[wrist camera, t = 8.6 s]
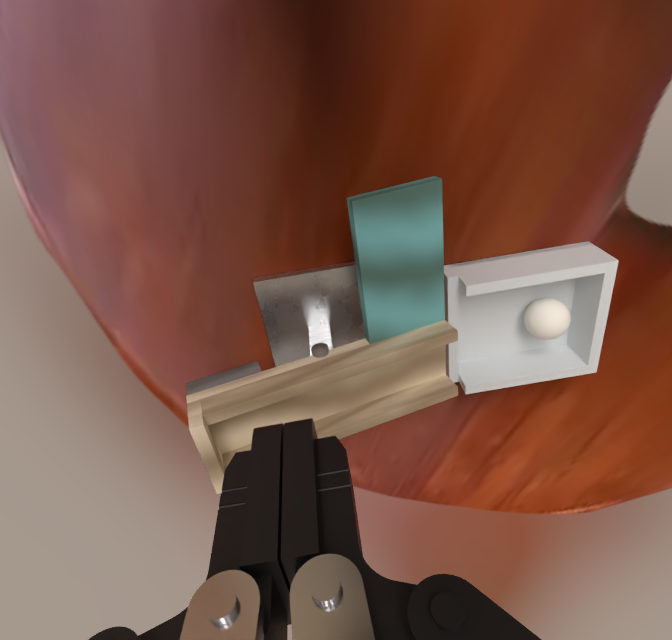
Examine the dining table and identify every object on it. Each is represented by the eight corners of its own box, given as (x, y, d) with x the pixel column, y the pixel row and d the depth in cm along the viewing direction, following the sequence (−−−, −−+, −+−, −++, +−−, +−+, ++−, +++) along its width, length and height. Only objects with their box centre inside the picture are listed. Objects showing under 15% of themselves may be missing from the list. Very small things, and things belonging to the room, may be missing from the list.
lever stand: (253, 277, 41) (248, 310, 35) (362, 259, 41) (373, 288, 35) (288, 409, 49) (288, 450, 44) (379, 393, 49) (389, 433, 44)
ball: (579, 309, 39) (564, 288, 43) (531, 312, 40) (520, 291, 43) (573, 346, 41) (560, 323, 45) (528, 349, 42) (518, 326, 45)
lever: (128, 240, 30) (122, 275, 25) (419, 170, 35) (465, 187, 30) (211, 443, 40) (219, 498, 35) (428, 367, 45) (464, 406, 40)
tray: (439, 266, 42) (454, 288, 38) (588, 241, 42) (618, 260, 38) (442, 368, 48) (455, 396, 44) (571, 346, 48) (596, 372, 44)
